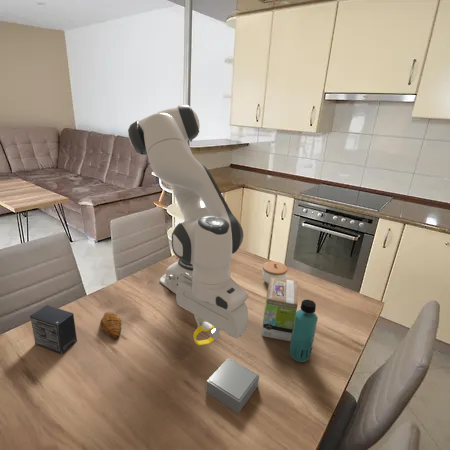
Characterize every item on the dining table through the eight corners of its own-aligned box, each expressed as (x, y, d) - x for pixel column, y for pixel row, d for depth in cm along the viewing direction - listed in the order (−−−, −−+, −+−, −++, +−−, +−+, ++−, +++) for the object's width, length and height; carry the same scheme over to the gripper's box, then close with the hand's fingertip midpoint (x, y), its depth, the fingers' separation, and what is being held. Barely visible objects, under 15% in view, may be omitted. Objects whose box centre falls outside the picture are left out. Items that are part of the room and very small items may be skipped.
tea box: (291, 342, 100) (298, 304, 94) (261, 336, 101) (266, 298, 96) (291, 314, 113) (297, 280, 108) (264, 309, 115) (269, 275, 110)
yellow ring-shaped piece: (194, 349, 75) (195, 332, 73) (191, 341, 77) (192, 323, 75) (217, 344, 77) (219, 327, 75) (214, 336, 80) (215, 319, 77)
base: (206, 392, 80) (206, 380, 78) (227, 368, 88) (228, 357, 86) (238, 413, 75) (239, 401, 73) (257, 386, 83) (259, 374, 81)
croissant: (96, 319, 104) (94, 307, 102) (116, 314, 108) (115, 302, 106) (105, 344, 94) (104, 331, 92) (127, 337, 97) (126, 324, 95)
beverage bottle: (297, 369, 89) (308, 312, 82) (283, 353, 95) (292, 299, 87) (314, 362, 92) (326, 306, 85) (299, 347, 97) (309, 294, 90)
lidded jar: (256, 283, 132) (258, 264, 129) (266, 273, 141) (269, 255, 138) (279, 292, 127) (282, 272, 124) (288, 281, 136) (291, 262, 132)
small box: (78, 340, 94) (75, 312, 91) (61, 354, 89) (57, 325, 85) (52, 331, 97) (47, 303, 94) (34, 344, 92) (28, 315, 88)
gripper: (170, 274, 75) (170, 320, 79) (237, 309, 63) (232, 360, 68) (188, 265, 79) (187, 310, 84) (254, 296, 68) (248, 345, 73)
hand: (208, 333), depth 76 cm, fingers closed on yellow ring-shaped piece, 3 cm apart
